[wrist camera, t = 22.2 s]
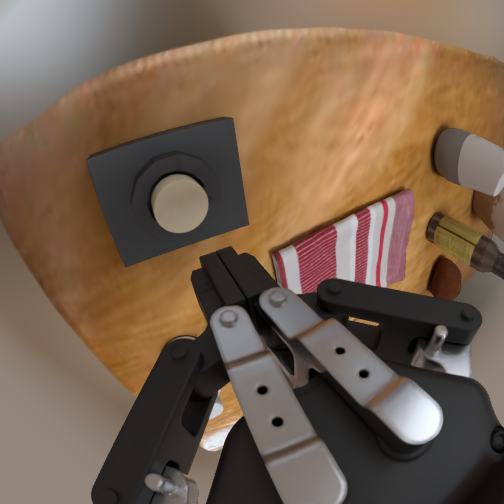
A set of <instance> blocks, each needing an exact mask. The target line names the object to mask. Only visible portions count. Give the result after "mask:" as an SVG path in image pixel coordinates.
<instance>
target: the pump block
mask: <svg viewBox="0 0 504 504" xmlns="http://www.w3.org/2000/svg"><path fill="white" fill-rule="evenodd" d="M87 164H88V167H89V170H90V174H91V177H92V180H93V183H94V186H95V190H96V193H97V196H98V198H99V201H100V204H101V207H102V210H103V213H104V216H105V218H106V221H107V224H108V226H109V229H110V231H111V234H112V237H113V239H114V242H115V244H116V247H117V249H118V251H119V254H120V256H121V259H122V261H123V263H124V266H125V267H127V266H130V265H133V264H136V263H138V262H141V261H144V260H147V259H150V258H152V257H155V256H158V255H161V254H164V253H167V252H170V251H172V250H175V249H178V248H181V247H184V246H187V245H190V244H193V243H196V242H199V241H202V240H205V239H208V238H211V237H213V236H216V235H219V234H222V233H225V232H229V231H232V230H235V229H238V228H241V227H244V226H247V225H249V221H248V215H247V208H246V201H245V195H244V188H243V181H242V175H241V168H240V161H239V155H238V148H237V142H236V135H235V128H234V122H233V118H229V117H221V118H216V119H211V120H207V121H202V122H198V123H193V124H189V125H185V126H181V127H177V128H173V129H169V130H166V131H162V132H159V133H155V134H152V135H148V136H145V137H142V138H138V139H135V140H132V141H129V142H126V143H123V144H120V145H117V146H114V147H111V148H108V149H105V150H103V151H100V152H97V153H95V154H92V155H90V156H89V157H88V159H87ZM172 174H185V175H188V176H190V177H192V178H193V179H194V180H195V181H196V182H197V183H198V184H199V185H200V186H201V187H202V188H203V189H204V191H205V192H206V195H207V197H208V211H207V214H206V216H205V218H204V220H203V221H202V222H201V223H200V225H198V226H197V227H196V228H194V229H193V230H191V231H188V232H185V233H173V232H170V231H167V230H165V229H164V228H162V227H161V226H160V225H159V223H158V222H157V220H156V218H155V216H154V212H153V209H152V204H151V197H152V193H153V190H154V188H155V186H156V185H157V184H158V183H159V182H160V181H161V180H162V179H163V178H165V177H167V176H169V175H172Z"/></svg>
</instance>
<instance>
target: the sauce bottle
mask: <svg viewBox="0 0 504 504" xmlns="http://www.w3.org/2000/svg"><path fill="white" fill-rule="evenodd" d="M427 237H428V240H429V241H430V242H432V243H434V244H435V245H436V246H438V247H440V248H441V249H443V250H445V251H446V252H448V253H450V254H451V255H453V256H455V257H456V258H458V259H460V260H461V261H463V262H464V263H466V264H468V265H469V266H471V267H473V268H475V269H477V270H478V271H480V272H493V273H494V274H496V275H498V276H499V277H501V278H502V279H504V254H502V253H501V252H500V250H499V249H498V247H497V245H496V243H495V242H494V241H493V240H491V239H490V238H488V237H486V236H485V235H484V234H482V233H480V232H478V231H476V230H474V229H473V228H471V227H469V226H467V225H465V224H463V223H461V222H459V221H457V220H455V219H453V218H451V217H449V216H447V215H444V214H442V213H436V214H435V215H434V216H433V218H432V219H431V221H430V223H429V226H428V230H427Z"/></svg>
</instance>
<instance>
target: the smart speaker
mask: <svg viewBox="0 0 504 504" xmlns="http://www.w3.org/2000/svg"><path fill="white" fill-rule="evenodd" d="M434 162H435V166H436V169H437V171H438V172H439V173H440V174H441V175H442V176H443V177H444V178H445V179H447V180H448V181H450V182H453V183H455V184H458V185H460V186H463V187H467V188H470V189H473V190H476V191H479V192H482V193H485V194H488V195H491V196H494V197H495V196H496V195H498V193H499V192H500V191H501V190H502V188H503V187H504V149H503V148H501V147H499V146H497V145H495V144H493V143H491V142H489V141H487V140H485V139H483V138H481V137H479V136H476V135H474V134H472V133H469V132H467V131H464V130H461V129H455V128H450V129H446V130H444V131H443V132H442V133H441V134H440V135H439V137H438V139H437V141H436V144H435V149H434Z"/></svg>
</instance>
